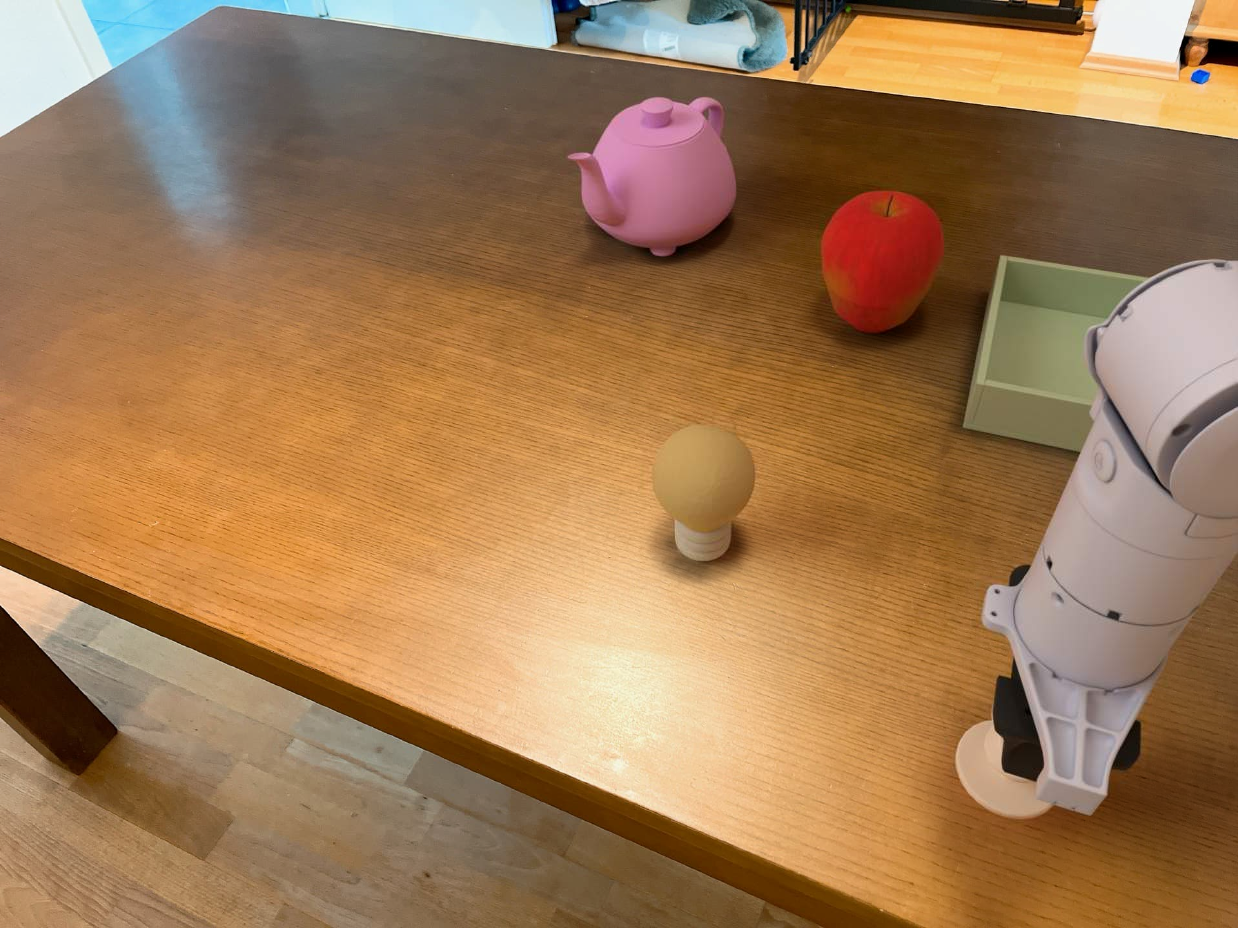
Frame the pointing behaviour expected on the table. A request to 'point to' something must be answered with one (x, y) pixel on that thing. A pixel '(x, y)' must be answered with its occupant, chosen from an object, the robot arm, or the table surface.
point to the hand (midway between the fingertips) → (1029, 729)
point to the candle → (994, 775)
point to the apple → (881, 258)
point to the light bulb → (703, 487)
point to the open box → (1040, 350)
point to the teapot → (660, 174)
